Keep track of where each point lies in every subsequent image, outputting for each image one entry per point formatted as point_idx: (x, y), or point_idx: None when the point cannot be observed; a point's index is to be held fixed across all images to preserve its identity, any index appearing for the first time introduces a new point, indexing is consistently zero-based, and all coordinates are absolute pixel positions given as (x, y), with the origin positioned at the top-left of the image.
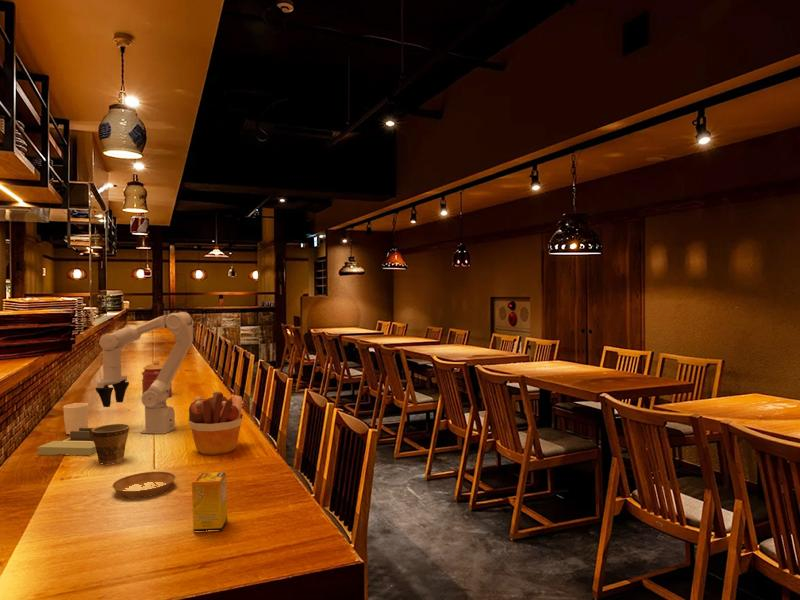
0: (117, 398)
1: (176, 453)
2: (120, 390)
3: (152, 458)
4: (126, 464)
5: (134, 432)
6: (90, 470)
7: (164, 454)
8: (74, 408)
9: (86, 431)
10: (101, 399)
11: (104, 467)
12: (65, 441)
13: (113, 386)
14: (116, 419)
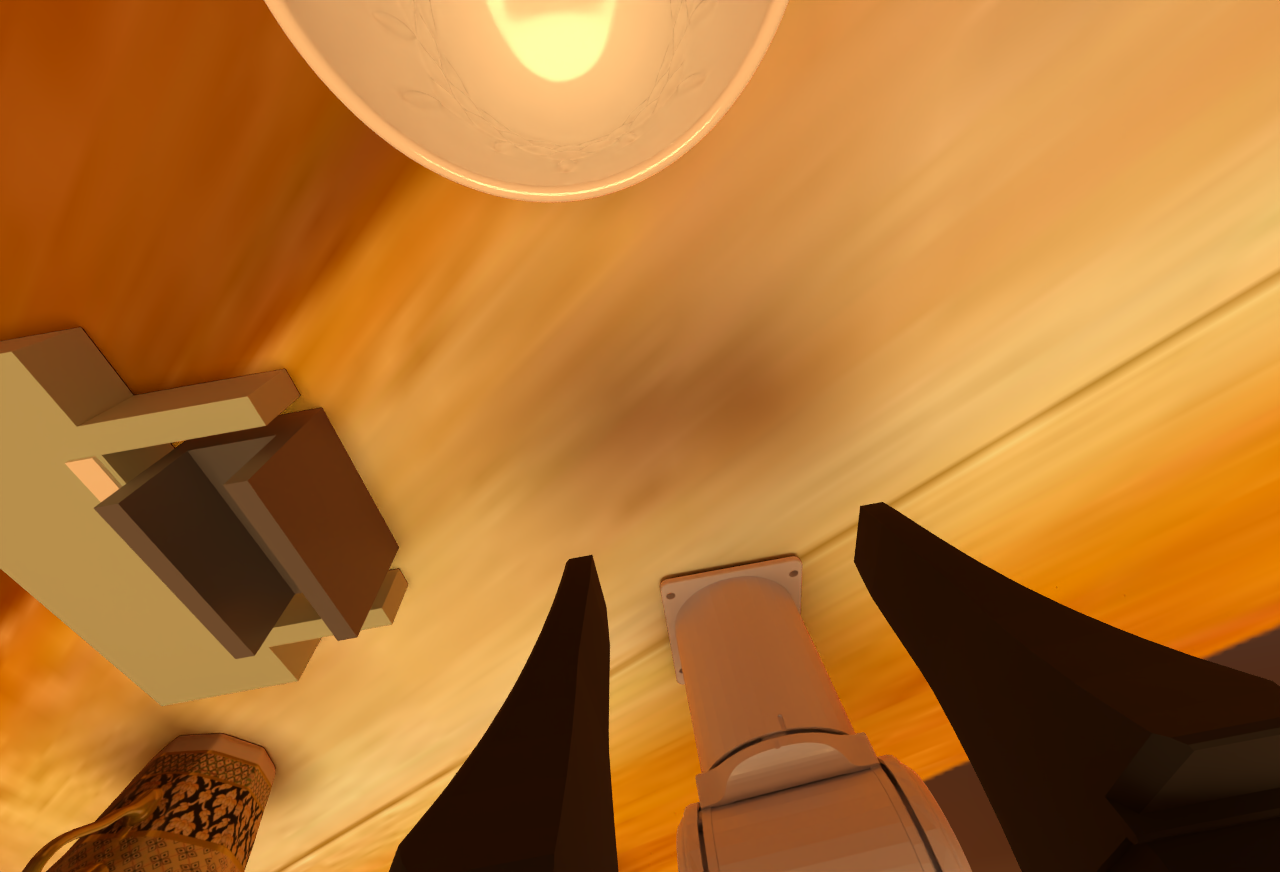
0: (888, 556)
1: None
2: (972, 701)
3: (348, 824)
4: None
5: (683, 530)
6: (82, 778)
7: (408, 822)
8: (343, 93)
9: (208, 615)
10: (538, 648)
11: None
12: (86, 483)
13: (1076, 697)
14: (1173, 5)
